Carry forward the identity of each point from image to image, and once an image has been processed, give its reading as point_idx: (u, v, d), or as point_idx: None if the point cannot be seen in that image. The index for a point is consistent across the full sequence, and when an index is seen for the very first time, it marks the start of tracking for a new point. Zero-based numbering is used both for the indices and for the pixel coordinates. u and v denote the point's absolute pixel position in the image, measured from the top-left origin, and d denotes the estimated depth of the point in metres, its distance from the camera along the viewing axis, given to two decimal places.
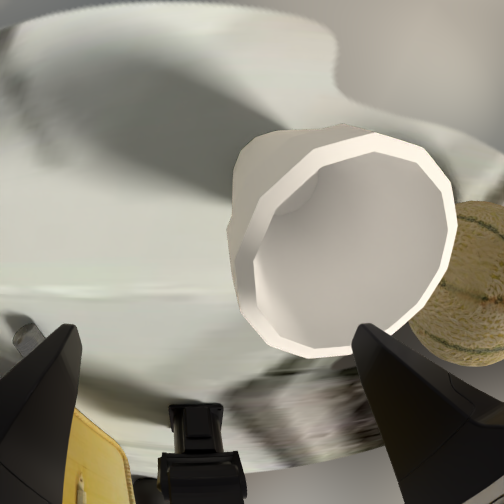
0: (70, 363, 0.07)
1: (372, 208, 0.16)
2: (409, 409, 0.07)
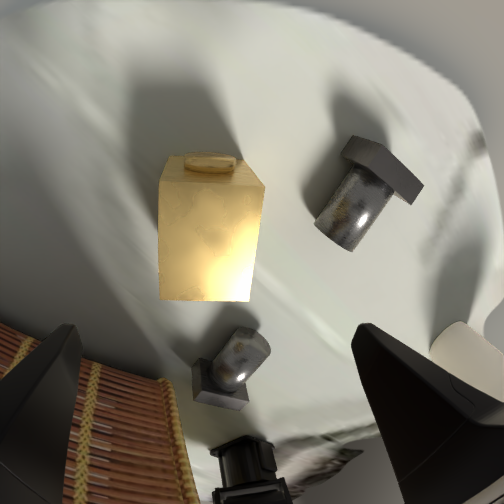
0: (70, 363, 0.07)
1: None
2: (409, 409, 0.07)
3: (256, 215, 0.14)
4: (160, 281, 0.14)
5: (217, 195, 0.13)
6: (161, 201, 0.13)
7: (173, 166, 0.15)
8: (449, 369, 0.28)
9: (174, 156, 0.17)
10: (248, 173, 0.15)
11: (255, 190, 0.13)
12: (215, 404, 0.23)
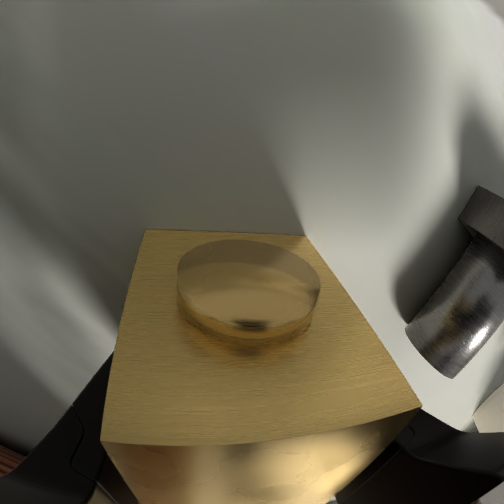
0: None
1: None
2: None
3: (377, 450, 0.04)
4: None
5: (295, 453, 0.04)
6: (125, 468, 0.03)
7: (149, 297, 0.05)
8: None
9: (155, 234, 0.08)
10: (349, 317, 0.06)
11: (398, 419, 0.04)
12: None
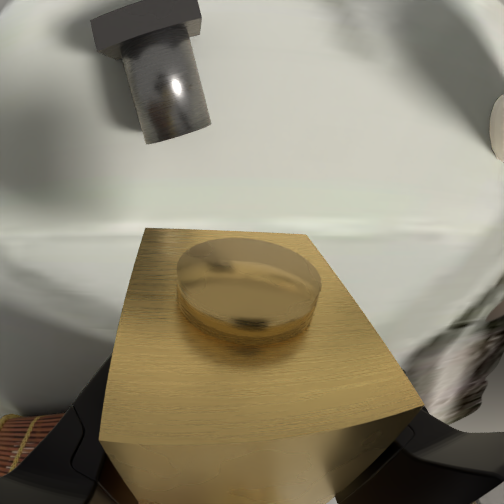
0: None
1: None
2: None
3: (379, 449, 0.04)
4: None
5: (296, 452, 0.04)
6: (124, 468, 0.03)
7: (148, 295, 0.05)
8: None
9: (155, 233, 0.08)
10: (350, 316, 0.06)
11: (399, 418, 0.04)
12: None
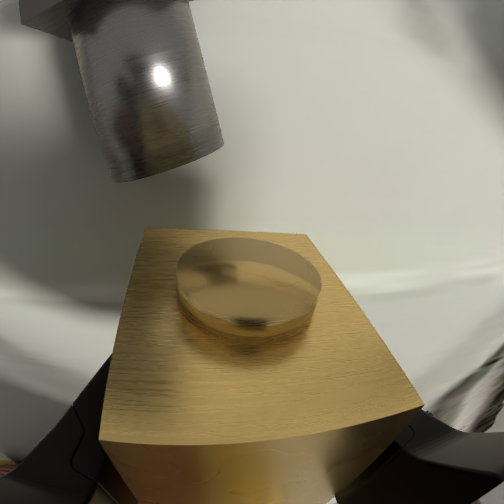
0: None
1: None
2: None
3: (379, 449, 0.04)
4: None
5: (296, 452, 0.04)
6: (124, 468, 0.03)
7: (148, 295, 0.05)
8: None
9: (155, 232, 0.08)
10: (350, 315, 0.06)
11: (400, 417, 0.04)
12: None
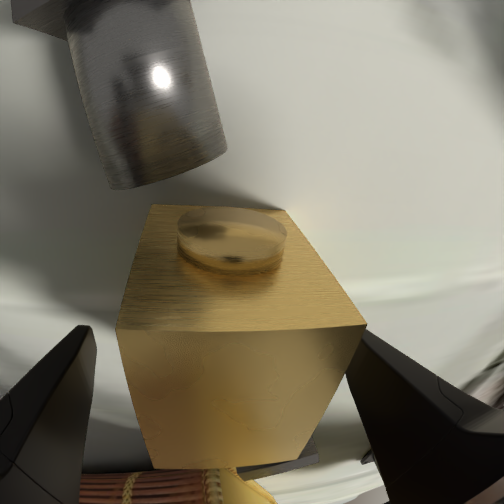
0: (86, 365, 0.07)
1: None
2: (396, 413, 0.07)
3: (338, 372, 0.06)
4: (151, 455, 0.07)
5: (262, 352, 0.05)
6: (130, 365, 0.05)
7: (155, 246, 0.07)
8: None
9: (160, 207, 0.10)
10: (312, 263, 0.07)
11: (346, 333, 0.06)
12: (276, 473, 0.14)
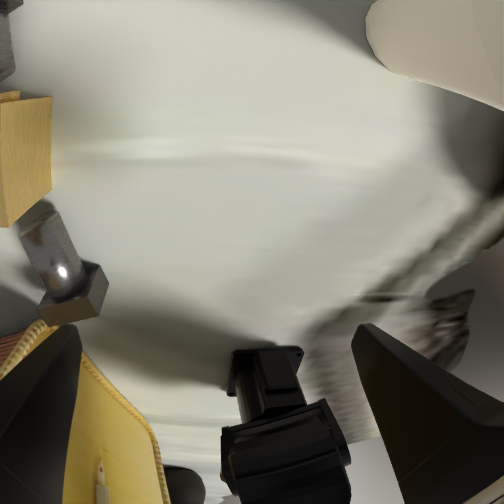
0: (70, 363, 0.07)
1: None
2: (409, 409, 0.07)
3: None
4: None
5: None
6: None
7: None
8: (408, 49, 0.12)
9: None
10: (19, 100, 0.11)
11: None
12: (67, 320, 0.17)
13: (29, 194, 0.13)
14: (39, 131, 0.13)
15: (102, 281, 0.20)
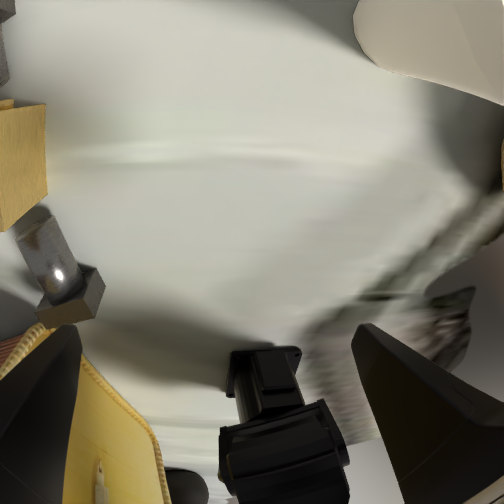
0: (70, 363, 0.07)
1: None
2: (410, 408, 0.07)
3: None
4: None
5: None
6: None
7: None
8: (395, 44, 0.12)
9: None
10: (12, 108, 0.11)
11: None
12: (64, 322, 0.17)
13: (24, 199, 0.14)
14: (33, 138, 0.14)
15: (99, 284, 0.20)
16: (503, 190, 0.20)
